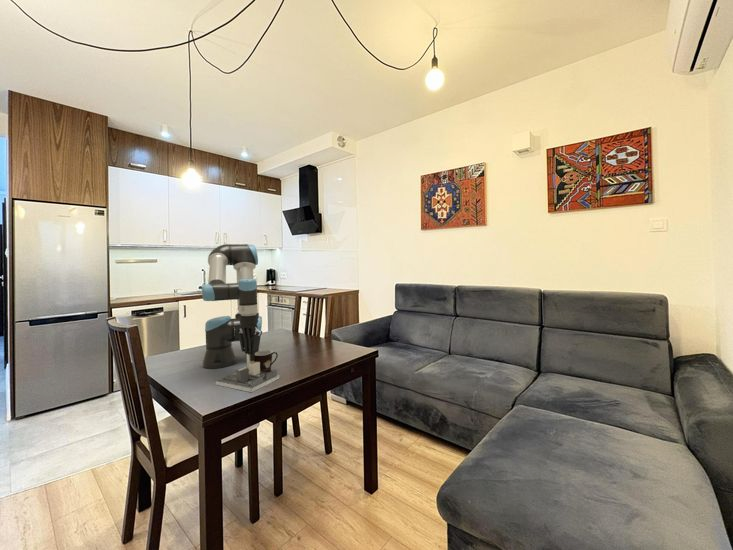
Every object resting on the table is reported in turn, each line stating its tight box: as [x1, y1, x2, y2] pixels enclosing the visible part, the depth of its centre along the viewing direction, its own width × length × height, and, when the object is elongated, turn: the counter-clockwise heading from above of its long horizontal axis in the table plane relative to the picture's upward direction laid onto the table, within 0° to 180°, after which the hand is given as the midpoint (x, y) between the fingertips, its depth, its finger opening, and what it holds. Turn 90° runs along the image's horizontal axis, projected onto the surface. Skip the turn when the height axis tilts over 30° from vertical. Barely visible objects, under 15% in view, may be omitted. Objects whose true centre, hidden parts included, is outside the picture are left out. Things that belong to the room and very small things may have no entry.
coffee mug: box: [254, 349, 279, 372], centre depth 143 cm, size 12×9×10 cm
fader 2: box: [249, 361, 260, 375], centre depth 137 cm, size 2×4×5 cm, turn 154°
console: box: [215, 369, 281, 393], centre depth 133 cm, size 20×16×4 cm
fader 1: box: [235, 366, 249, 382], centre depth 129 cm, size 2×4×5 cm, turn 154°
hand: (250, 368), depth 138 cm, fingers closed
